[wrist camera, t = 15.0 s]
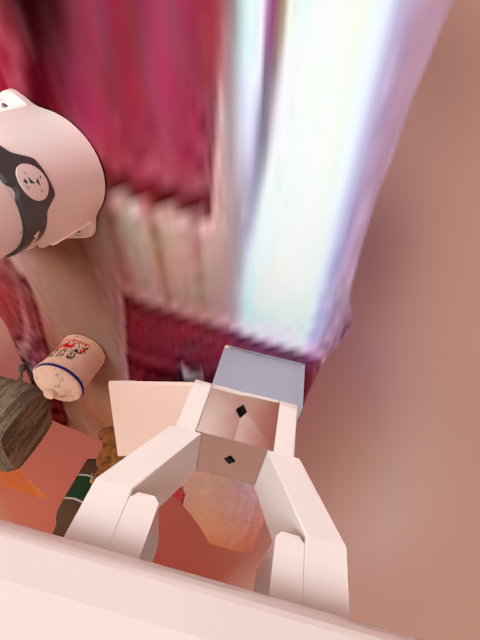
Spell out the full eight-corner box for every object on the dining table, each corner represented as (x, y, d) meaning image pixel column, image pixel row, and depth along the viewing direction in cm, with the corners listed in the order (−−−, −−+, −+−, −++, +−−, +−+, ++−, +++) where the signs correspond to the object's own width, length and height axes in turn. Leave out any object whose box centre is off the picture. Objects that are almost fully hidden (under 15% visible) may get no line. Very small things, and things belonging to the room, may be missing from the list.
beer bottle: (112, 476, 98) (63, 575, 79) (86, 469, 99) (31, 566, 80) (110, 462, 93) (56, 564, 75) (83, 455, 94) (23, 554, 75)
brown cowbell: (14, 357, 73) (-99, 466, 54) (54, 366, 73) (-45, 481, 53) (31, 400, 82) (-60, 507, 63) (67, 409, 82) (-14, 520, 62)
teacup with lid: (95, 331, 64) (58, 377, 55) (114, 367, 69) (82, 415, 60) (41, 332, 67) (-3, 376, 58) (63, 366, 72) (25, 411, 63)
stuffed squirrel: (97, 432, 85) (67, 483, 75) (127, 413, 78) (98, 467, 68) (130, 453, 89) (104, 505, 78) (161, 436, 81) (138, 492, 71)
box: (279, 431, 71) (274, 474, 64) (213, 414, 72) (200, 455, 65) (305, 364, 59) (302, 408, 51) (225, 344, 60) (211, 385, 52)
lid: (117, 458, 61) (118, 451, 62) (199, 456, 64) (199, 450, 65) (107, 387, 49) (109, 380, 50) (209, 388, 52) (209, 381, 53)
